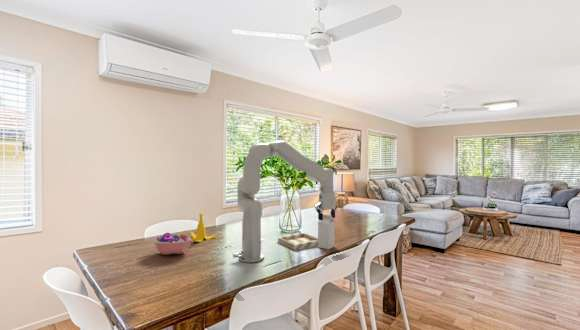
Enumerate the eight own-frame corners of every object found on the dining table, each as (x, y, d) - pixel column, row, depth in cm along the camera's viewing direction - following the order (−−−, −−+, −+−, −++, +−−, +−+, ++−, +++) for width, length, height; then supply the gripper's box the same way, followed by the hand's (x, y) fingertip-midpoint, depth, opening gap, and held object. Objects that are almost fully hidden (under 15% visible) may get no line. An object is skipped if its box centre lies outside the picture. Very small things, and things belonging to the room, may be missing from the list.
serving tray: (294, 250, 158) (294, 245, 158) (277, 242, 172) (277, 237, 172) (321, 244, 169) (321, 239, 169) (303, 237, 184) (303, 232, 184)
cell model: (180, 260, 141) (180, 238, 141) (145, 257, 145) (145, 236, 145) (198, 250, 158) (198, 230, 157) (166, 247, 162) (166, 228, 161)
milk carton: (328, 249, 159) (328, 216, 159) (317, 247, 164) (318, 215, 163) (334, 246, 165) (334, 214, 164) (323, 244, 169) (324, 213, 169)
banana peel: (192, 245, 167) (192, 217, 166) (189, 236, 184) (189, 211, 184) (220, 241, 174) (220, 214, 173) (215, 234, 191) (215, 209, 191)
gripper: (319, 191, 155) (319, 222, 156) (342, 189, 165) (342, 218, 166) (311, 190, 161) (311, 219, 162) (333, 188, 171) (333, 215, 172)
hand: (326, 218), depth 164 cm, fingers open, 9 cm apart
